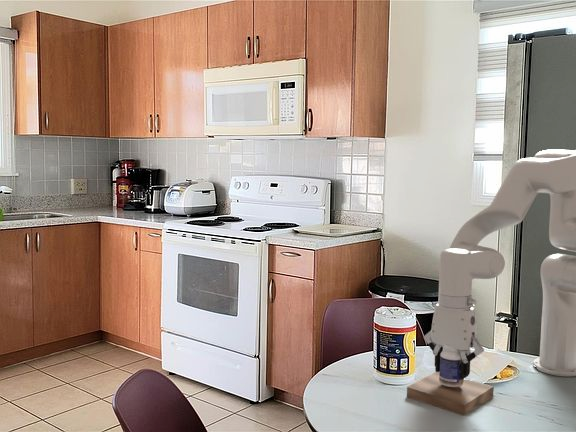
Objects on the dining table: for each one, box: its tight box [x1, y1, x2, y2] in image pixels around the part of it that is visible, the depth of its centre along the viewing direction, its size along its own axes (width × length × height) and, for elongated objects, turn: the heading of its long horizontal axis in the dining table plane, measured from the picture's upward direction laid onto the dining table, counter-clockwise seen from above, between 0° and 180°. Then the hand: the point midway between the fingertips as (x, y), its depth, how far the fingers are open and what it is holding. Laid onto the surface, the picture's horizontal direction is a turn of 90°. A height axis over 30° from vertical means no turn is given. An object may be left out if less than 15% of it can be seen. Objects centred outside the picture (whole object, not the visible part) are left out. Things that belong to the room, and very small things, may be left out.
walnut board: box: [406, 371, 495, 416], centre depth 152 cm, size 15×15×2 cm
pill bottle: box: [439, 345, 464, 387], centre depth 151 cm, size 6×6×10 cm
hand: (451, 373), depth 152 cm, fingers closed on pill bottle, 5 cm apart
